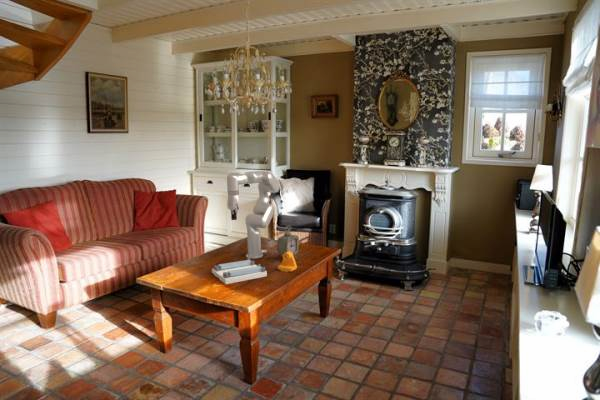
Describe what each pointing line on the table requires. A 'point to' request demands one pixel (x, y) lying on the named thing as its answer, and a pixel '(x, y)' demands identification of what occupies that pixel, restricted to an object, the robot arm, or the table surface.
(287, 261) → the bracket
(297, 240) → the tabletop clock
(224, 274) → the board
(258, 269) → the lever
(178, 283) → the table surface
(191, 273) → the table surface
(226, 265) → the lever
